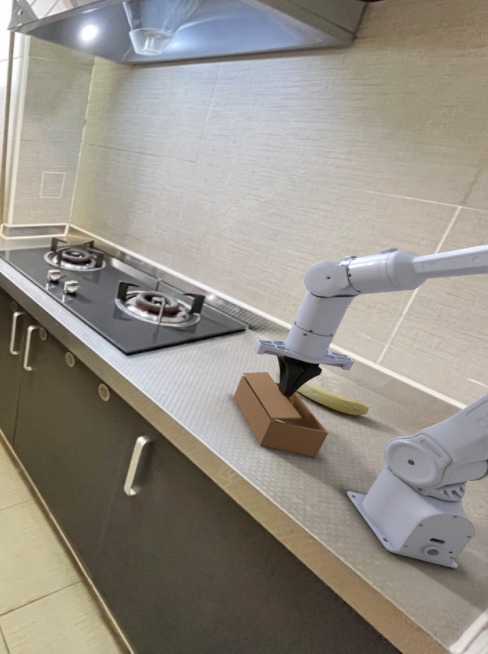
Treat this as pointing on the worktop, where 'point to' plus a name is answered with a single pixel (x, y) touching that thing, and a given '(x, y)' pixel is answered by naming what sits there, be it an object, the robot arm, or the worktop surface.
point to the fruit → (332, 399)
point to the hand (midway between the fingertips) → (284, 392)
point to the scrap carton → (281, 423)
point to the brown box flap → (271, 396)
